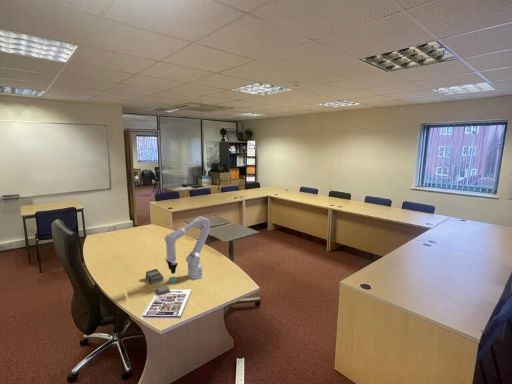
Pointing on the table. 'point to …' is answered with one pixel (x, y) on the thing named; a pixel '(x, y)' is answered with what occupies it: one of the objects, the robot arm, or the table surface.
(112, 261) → the table surface
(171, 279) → the teal block
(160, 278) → the stone block
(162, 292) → the tower mid
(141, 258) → the table surface
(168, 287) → the tower base
